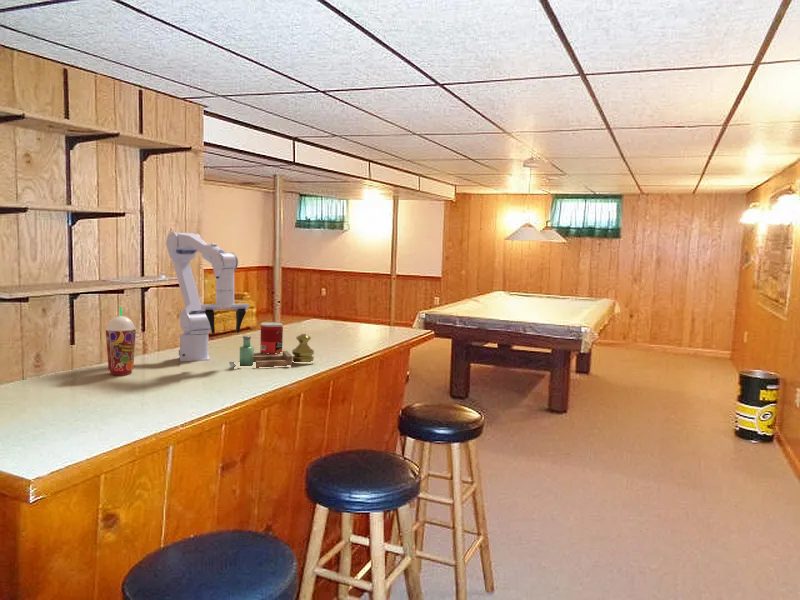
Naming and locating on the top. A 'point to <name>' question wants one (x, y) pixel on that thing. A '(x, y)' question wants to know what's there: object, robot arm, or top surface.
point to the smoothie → (120, 345)
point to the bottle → (246, 352)
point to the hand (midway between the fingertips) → (225, 332)
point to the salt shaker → (303, 350)
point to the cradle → (271, 360)
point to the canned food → (271, 337)
